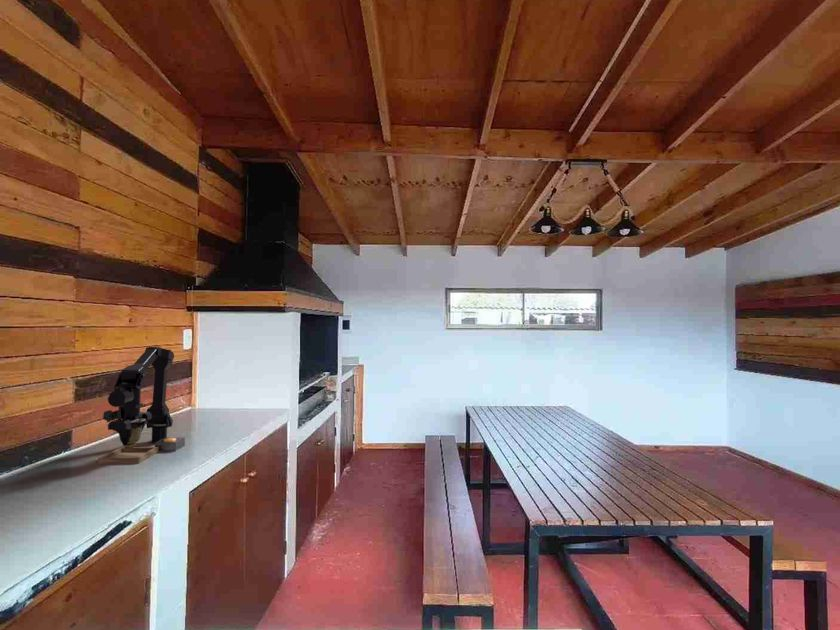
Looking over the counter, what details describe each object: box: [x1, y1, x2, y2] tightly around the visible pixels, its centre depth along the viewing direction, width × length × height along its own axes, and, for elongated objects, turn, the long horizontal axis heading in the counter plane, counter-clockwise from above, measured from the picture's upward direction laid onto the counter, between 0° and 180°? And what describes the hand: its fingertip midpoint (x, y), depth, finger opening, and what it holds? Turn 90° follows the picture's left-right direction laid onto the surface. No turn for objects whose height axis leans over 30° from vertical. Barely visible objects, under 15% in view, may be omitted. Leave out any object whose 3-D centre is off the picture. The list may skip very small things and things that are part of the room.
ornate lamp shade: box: [119, 424, 143, 448], centre depth 162 cm, size 8×7×8 cm
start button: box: [164, 437, 176, 442], centre depth 175 cm, size 4×4×2 cm
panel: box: [154, 436, 186, 452], centre depth 175 cm, size 8×8×4 cm
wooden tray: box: [97, 446, 160, 465], centre depth 162 cm, size 14×14×2 cm
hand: (130, 443), depth 162 cm, fingers closed on ornate lamp shade, 6 cm apart
